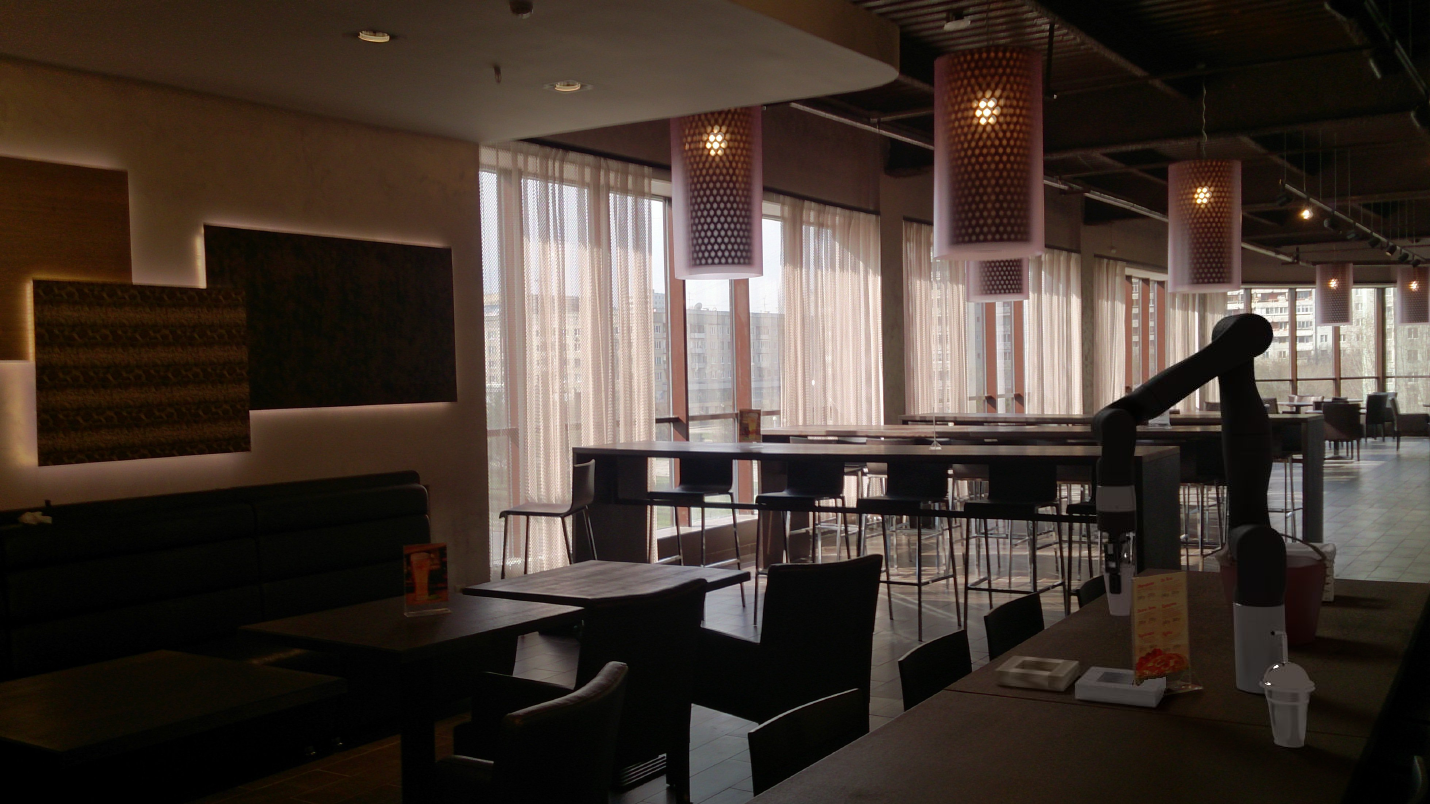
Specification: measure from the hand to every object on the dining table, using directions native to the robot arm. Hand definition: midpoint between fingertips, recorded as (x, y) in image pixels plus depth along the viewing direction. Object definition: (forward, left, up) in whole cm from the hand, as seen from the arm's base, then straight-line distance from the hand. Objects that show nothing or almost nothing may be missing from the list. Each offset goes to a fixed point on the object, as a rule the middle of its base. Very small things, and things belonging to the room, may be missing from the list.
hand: (1119, 590), depth 222 cm
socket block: (+18, -4, -21) cm, 28 cm away
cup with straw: (-31, +21, -21) cm, 43 cm away
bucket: (-22, -64, -21) cm, 71 cm away
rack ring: (0, 0, -21) cm, 21 cm away
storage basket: (-22, -120, -21) cm, 124 cm away
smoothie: (0, 0, -5) cm, 5 cm away
